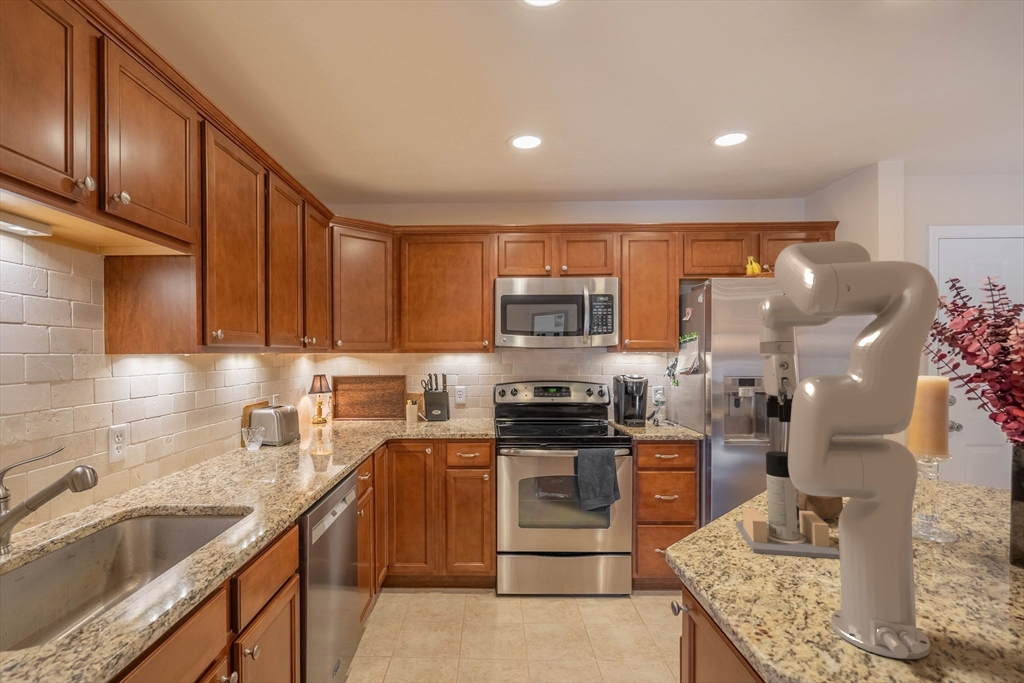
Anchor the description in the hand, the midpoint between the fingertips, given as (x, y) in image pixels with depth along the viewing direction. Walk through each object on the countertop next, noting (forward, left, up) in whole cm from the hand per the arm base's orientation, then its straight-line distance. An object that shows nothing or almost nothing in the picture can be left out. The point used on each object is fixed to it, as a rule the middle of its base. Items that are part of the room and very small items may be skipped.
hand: (780, 419), depth 116 cm
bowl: (+19, -13, -30) cm, 38 cm away
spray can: (0, 0, -28) cm, 28 cm away
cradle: (0, 0, -29) cm, 29 cm away
